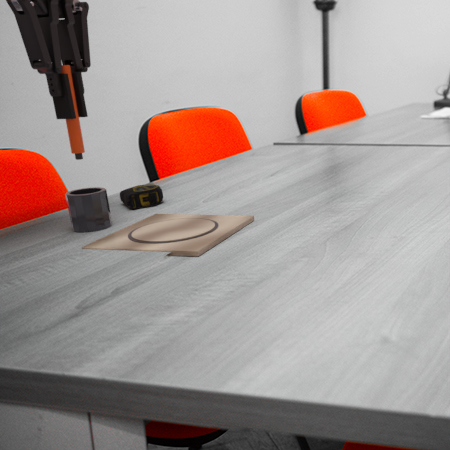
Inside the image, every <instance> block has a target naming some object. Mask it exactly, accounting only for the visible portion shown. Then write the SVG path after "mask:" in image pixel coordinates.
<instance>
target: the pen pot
mask: <svg viewBox="0 0 450 450" xmlns="http://www.w3.org/2000/svg"><path fill="white" fill-rule="evenodd" d="M64 196H65V200H66V201H65V202H66V206H67V210H68V216H69V220H70V225H71V231H73V232H74V233H77V234H78V233H79V234H80V233H82V234H83V233H85V234H87V233H95V232H100V231H103V230H104V231H105V230H106V229H109V228H111V227H112V226H113V220H112V214H111V209H110V203H109V202H110V201H109V198H108V193H107V188H106V187H99V186H97V187H95V186H94V187H83V188H78V189H73V190H72V189H71V190H70V191H66V193H64Z"/></svg>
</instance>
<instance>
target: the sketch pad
mask: <svg viewBox="0 0 450 450" xmlns="http://www.w3.org/2000/svg"><path fill="white" fill-rule="evenodd" d="M254 221H255V216H254V215H238V214H237V215H236V214H235V215H232V214H191V213H190V214H187V213H186V214H184V213H154V214H152V215H150V216H148V217H145V218H143V219H141V220H139V221H136V222H135V223H132V224H130V225H127V226H125V227H124V228H121V229H119V230H117V231H115V232H112V233H110V234H107V235H105V236H103V237H101V238H99V239H97V240H95V241H91V242H90V243H88V244H86V245H83V246H82V247H81V250H99V251H100V250H102V251H103V250H104V251H130V252H131V251H133V252H158V253H159V252H160V253H161V252H162V253H167V254H166V256H171V257H172V256H174V257H197V258H199V257H200V256H202V255H203V254H205V253H207V252H208V251H209V250H210V249H212V248H214V247H215V246H217V245H218V244H220V243H221V242H223V241H225V240H226V239H228V238H230V237H231V236H233V235H234V234H236V233H237V232H238V231H240V230H242V229H243V228H245V227H246V226H248V225H249V224H251V223H252V222H254Z"/></svg>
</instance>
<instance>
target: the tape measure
mask: <svg viewBox="0 0 450 450" xmlns="http://www.w3.org/2000/svg"><path fill="white" fill-rule="evenodd" d="M119 198H120V199H119V200H120V201H121V202H122V204H124V205H126V206H127V207H128V208H129V209H131V210H137V209H143V208H144V209H145V208H150V207H155V206H158V205H160V204H161V203H162V202H163V199H164V193H163V189H162V188H161V186H160V185H158V184H154V183H153V184H151V183H150V184H149V183H148V184H139V185H135V186H132V187H131V186H130V187H129V188H126V189H123V190H120V192H119Z"/></svg>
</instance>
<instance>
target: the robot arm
mask: <svg viewBox="0 0 450 450" xmlns="http://www.w3.org/2000/svg"><path fill="white" fill-rule="evenodd" d="M5 1H6V3H7V5H8V7H9V8H10V10H11V11H12V13H13V15H14V18H15V21H16V25H17V27H18V30H19V33H20V36H21V40H22V43H23V45H24V48H25V52H26V55H27V58H28V61H29V64H30V67H31V69H33V70H37V73H38V74H40V75H45V78H46V83H47V88H48V92H49V95H50V97H51V99H52V102H53V106H54V112H55V117H56V120H66V119H76V114H75V109H74V104H73V99H72V93H71V88H70V83H69V78H68V74H60V73H62V65H70V68H71V74H72V80H73V86H74V92H75V97H76V103H77V109H78V115H79V118H88V117H89V115H88V111H87V104H86V100H85V87H84V86H85V85H84V81H83V75H82V73H87V72H88V69H89V68H90V67H91V66H92V65H91V63H92V62H91V52H90V51H91V50H90V49H91V48H90V40H89V39H90V37H89V23H88V15H89V10H90V6H89V3H88V2H87V1H81V0H5Z"/></svg>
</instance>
